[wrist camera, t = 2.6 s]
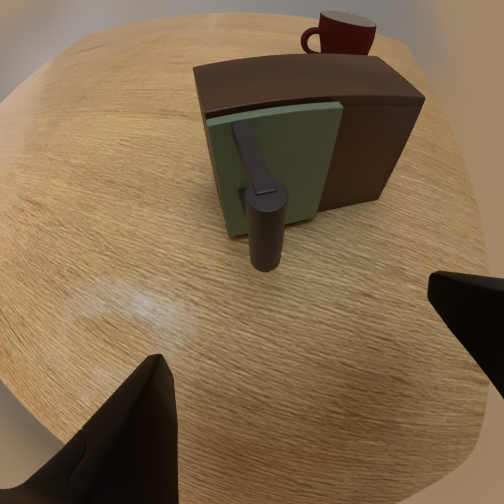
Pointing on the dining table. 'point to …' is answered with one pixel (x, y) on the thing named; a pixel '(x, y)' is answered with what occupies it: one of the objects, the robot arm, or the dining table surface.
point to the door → (272, 170)
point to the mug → (341, 34)
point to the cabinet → (319, 91)
